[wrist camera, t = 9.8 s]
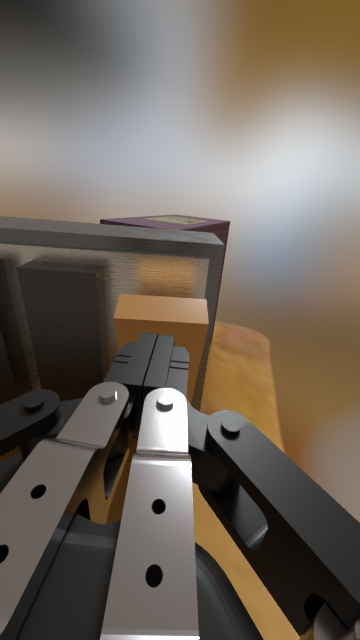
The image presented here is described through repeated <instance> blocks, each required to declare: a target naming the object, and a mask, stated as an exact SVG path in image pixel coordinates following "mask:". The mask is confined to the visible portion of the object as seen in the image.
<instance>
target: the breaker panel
mask: <svg viewBox="0 0 360 640" xmlns="http://www.w3.org/2000/svg"><path fill="white" fill-rule="evenodd" d="M223 251H224V244H223V243H222V242H221V240H220V239H219V238H218V237H217V236H216V235H215V234H214V233H208V232H196V231H183V230H170V229H157V228H144V227H131V226H119V225H106V224H93V223H80V222H67V221H53V220H42V219H29V218H16V217H3V216H0V405H1V404H3V403H5V402H8V401H10V400H12V399H14V398H17V397H19V396H21V395H23V394H26V393H28V392H31V391H34V390H41V389H47V390H51V391H54V392H56V393H57V394H58V396H59V399H60V401H66V400H74V399H80V398H84V397H85V396H86V394H87V393H88V391H89V390H90V389H91V388H93V387H94V386H96V385H98V384H101V383H103V381H104V379H105V378H106V376H107V374H108V372H109V370H110V368H111V366H112V364H113V362H114V360H115V358H116V356H117V354H118V346H117V339H116V333H115V326H114V319H113V317H114V314H115V310H116V307H117V303H118V299H119V296H120V294H133V295H148V296H164V297H179V298H194V299H206V300H207V310H208V321H209V325H208V330H207V334H206V339H205V343H204V348H203V352H202V357H201V361H200V365H199V370H198V374H197V379H196V383H195V388H194V392H193V397H192V401H191V406H192V407H193V408H195V409H196V410H197V411H199V412H200V406H201V400H202V393H203V386H204V379H205V373H206V366H207V359H208V352H209V346H210V339H211V332H212V325H213V319H214V312H215V305H216V298H217V292H218V285H219V278H220V271H221V265H222V258H223ZM133 437H139V434H133Z"/></svg>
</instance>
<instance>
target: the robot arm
mask: <svg viewBox="0 0 360 640" xmlns="http://www.w3.org/2000/svg"><path fill="white" fill-rule="evenodd" d="M174 343H175V335H165V334H159V335H158V334H155V333H145V332H142V333H141V335H140V337H139V340H138V342H137V343H136V342H128V343H127V344H125V345H124V346H122V347H121V349H120V351H119V353H118V354H117V356H116V358H115V360H114V362H113V364H112V366H111V368H110V370H109V372H108V374H107V376H106V378H105V379H104V381H103V383H101V384H98V385H96V386H94V387H93V388H91V389H90V390H89V391H88V393H87V394H86V396H85V397H84V398H80V399H74V400H66V401H60V399H59V396H58V394H57V393H56V392H54V391H51V390H47V389H41V390H34V391H31V392H28V393H26V394H23V395H21V396H19V397H17V398H14V399H12V400H10V401H8V402H5V403H3V404H1V405H0V456H2V455H3V454H5V453H7V452H9V451H11V450H12V449H14V448H16V447H18V446H19V449H20V451H19V452H17V453H16V454H14V455H12V456H10V457H9V458H7V459H5V460H4V461H2V462H0V640H263V638H262V636H261V634H260V633H259V631H258V629H257V627H256V626H255V624H254V622H253V620H252V619H251V617H250V615H249V613H248V612H247V610H246V608H245V606H244V605H243V603H242V601H241V599H240V598H239V596H238V594H237V592H236V591H235V589H234V587H233V586H232V584H231V582H230V580H229V579H228V577H227V575H226V574H225V572H224V571H223V570H222V568H221V567H220V566H219V564H218V563H217V562H216V560H215V559H214V558H213V557H212V556H211V555H210V554H209V553H208V552H207V551H206V550H205V549H203V548H202V547H201V546H200V545H198V544H197V543H195V538H194V515H193V492H192V482H193V483H195V484H198V487H199V490H200V492H201V494H202V495H203V497H204V498H205V500H206V501H207V503H208V504H209V506H210V507H211V509H212V510H213V511H214V513H215V514H216V516H217V517H218V519H219V520H220V522H221V523H222V524H223V526H224V527H225V529H226V530H227V532H228V533H229V535H230V536H231V538H232V539H233V540H234V542H235V543H236V545H237V546H238V548H239V549H240V551H241V552H242V554H243V555H244V556H245V558H246V559H247V561H248V562H249V564H250V565H251V567H252V568H253V570H254V571H255V572H256V574H257V575H258V577H259V578H260V580H261V581H262V583H263V584H264V586H265V587H266V588H267V590H268V591H269V593H270V594H271V596H272V597H273V599H274V600H275V601H276V603H277V604H278V606H279V607H280V609H281V610H282V612H283V613H284V615H285V616H286V617H287V619H288V620H289V622H290V623H291V625H292V626H293V628H294V629H295V631H296V632H297V633H298V635H299V636H300V640H360V523H359V522H358V521H357V520H356V519H355V518H354V517H353V516H352V515H351V514H349V513H348V512H347V511H346V510H345V509H344V508H343V507H342V506H341V505H340V504H338V502H336V501H335V500H334V499H333V498H332V497H331V496H330V495H329V494H328V493H327V492H326V491H325V490H323V489H322V488H321V487H320V486H319V485H318V484H317V483H316V482H315V481H314V480H313V479H311V478H310V477H309V476H308V475H307V474H306V473H305V472H304V471H303V470H302V469H301V468H300V467H298V466H297V465H296V464H295V463H294V462H293V461H292V460H291V459H290V458H289V457H288V456H286V455H285V454H284V453H283V452H282V451H281V450H280V449H279V448H278V447H277V446H276V445H275V444H273V443H272V442H271V441H270V440H269V439H268V438H267V437H266V436H265V435H264V434H263V433H261V432H260V431H259V430H258V429H257V428H256V427H255V426H254V425H253V424H252V423H251V422H250V421H248V420H247V419H246V418H245V417H244V416H242V415H241V414H239V413H237V412H234V411H229V410H221V411H218V412H215V413H214V414H212V415H211V416H209V415H206V414H204V413H201V412H199V411H197V410H196V409H195V408H193V407H192V406H191V405H190V403H189V402H188V400H187V381H188V367H189V353H188V351H187V350H186V348H185V347H175V346H174ZM133 434H139V437H138V443H137V449H136V452H134V454H133V457H132V462H131V468H130V474H129V479H128V485H127V490H126V496H125V502H124V507H123V513H122V519H121V521H118V522H112V523H107V517H108V512H109V508H110V505H111V502H112V499H113V496H114V494H115V491H116V488H117V485H118V483H119V480H120V477H121V474H122V472H123V469H124V466H125V463H126V461H127V458H128V455H129V451H130V444H131V441H132V437H133Z"/></svg>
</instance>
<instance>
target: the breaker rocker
mask: <svg viewBox="0 0 360 640" xmlns="http://www.w3.org/2000/svg"><path fill="white" fill-rule="evenodd" d="M113 319H114V326H115V333H116V339H117V346H118V353H119V351H120V349H121V347H122V346H124V345H125V344H127V343H128V342H136V343H137V342H138V340H139V337H140V335H141V333H142V332H145V333H155V334H158V335H159V334H165V335H175V343H174V346H175V347H185V348H186V350H187V351H188V353H189V367H188V381H187V400H188V402H189V403H190V405H191V401H192V397H193V392H194V388H195V383H196V379H197V374H198V370H199V365H200V361H201V357H202V352H203V348H204V343H205V339H206V334H207V330H208V325H209V321H208V310H207V300H206V299H194V298H179V297H164V296H148V295H133V294H120V296H119V299H118V303H117V307H116V310H115V314H114V317H113Z"/></svg>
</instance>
